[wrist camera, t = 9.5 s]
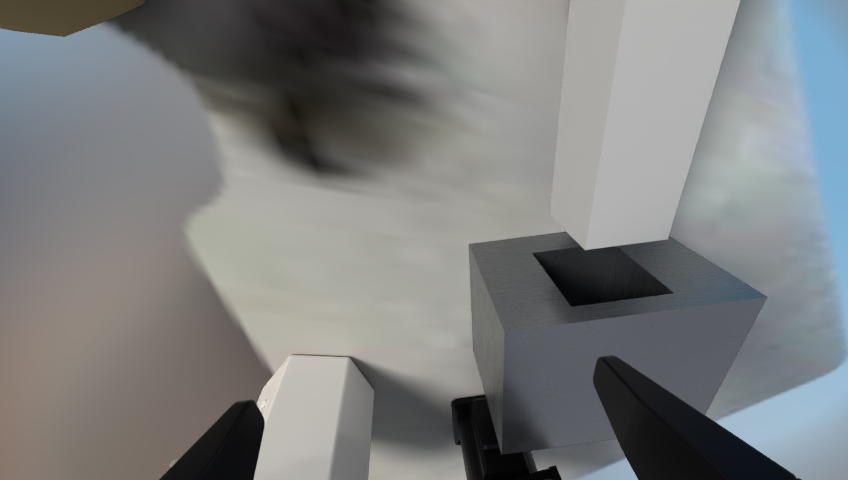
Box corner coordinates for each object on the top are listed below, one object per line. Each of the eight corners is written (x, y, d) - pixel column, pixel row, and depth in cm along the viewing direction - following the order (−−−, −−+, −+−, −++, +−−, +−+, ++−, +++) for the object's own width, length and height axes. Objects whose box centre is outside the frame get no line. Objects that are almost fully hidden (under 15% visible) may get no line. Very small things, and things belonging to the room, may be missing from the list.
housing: (617, 330, 26) (698, 427, 19) (473, 350, 26) (501, 454, 19) (645, 221, 21) (767, 297, 14) (468, 244, 21) (504, 331, 14)
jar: (302, 334, 24) (227, 545, 13) (391, 374, 27) (387, 574, 16) (249, 399, 27) (154, 613, 16) (334, 429, 30) (300, 628, 19)
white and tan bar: (625, 195, 19) (725, 251, 13) (516, 208, 19) (569, 271, 13) (698, -147, 12) (970, -339, 6) (529, -129, 12) (650, -307, 6)
